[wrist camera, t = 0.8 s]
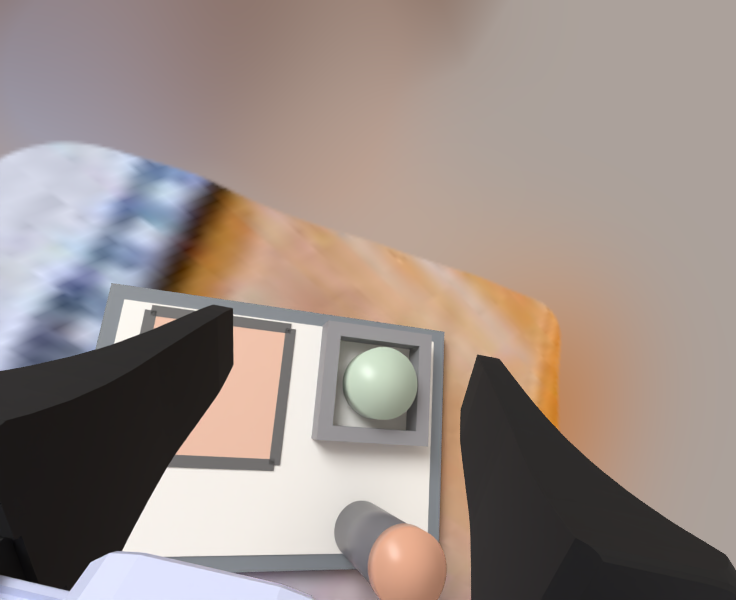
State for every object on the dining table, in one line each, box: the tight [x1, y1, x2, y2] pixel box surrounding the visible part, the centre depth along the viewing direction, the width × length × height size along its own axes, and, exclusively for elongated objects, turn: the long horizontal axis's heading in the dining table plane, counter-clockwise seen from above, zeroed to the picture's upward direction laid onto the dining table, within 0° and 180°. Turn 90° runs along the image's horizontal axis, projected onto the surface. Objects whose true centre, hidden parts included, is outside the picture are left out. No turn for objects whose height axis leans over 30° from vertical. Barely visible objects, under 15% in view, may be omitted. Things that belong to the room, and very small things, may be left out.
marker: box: [334, 501, 446, 600], centre depth 21 cm, size 3×3×7 cm
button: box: [342, 347, 417, 420], centre depth 25 cm, size 4×4×2 cm
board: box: [95, 283, 444, 573], centre depth 24 cm, size 14×20×2 cm
